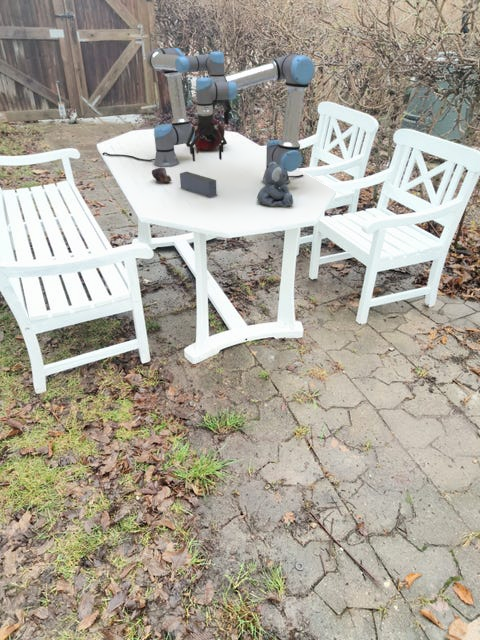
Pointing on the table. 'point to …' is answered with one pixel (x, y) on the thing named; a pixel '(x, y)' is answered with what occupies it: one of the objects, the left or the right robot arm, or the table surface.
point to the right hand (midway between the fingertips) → (207, 160)
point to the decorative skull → (208, 138)
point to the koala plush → (275, 188)
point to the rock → (161, 175)
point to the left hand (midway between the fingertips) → (218, 126)
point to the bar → (198, 184)
